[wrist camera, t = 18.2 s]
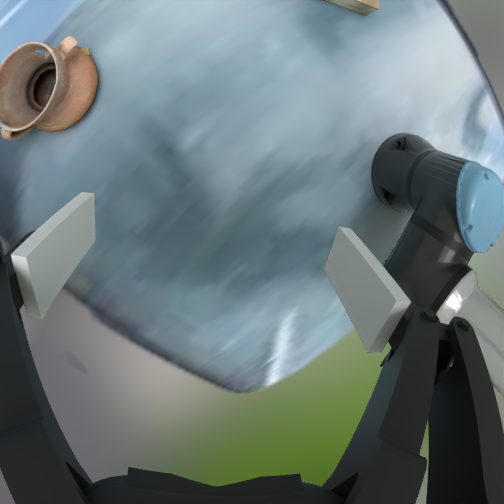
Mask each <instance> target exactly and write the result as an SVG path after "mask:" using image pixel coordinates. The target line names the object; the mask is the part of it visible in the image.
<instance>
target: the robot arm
mask: <svg viewBox="0 0 504 504" xmlns="http://www.w3.org/2000/svg"><path fill="white" fill-rule="evenodd" d="M372 180H373V185H374V189H375V191H376V193H377V195H378V197H379V198H380V200H381V201H382V202H383V203H385V204H386V205H387V206H389V207H391V208H392V209H394V210H396V211H399V212H407V213H413V215H412V217H411V218H410V220H409V222H408V224H407V226H406V227H405V229H404V231H403V233H402V234H401V236H400V238H399V240H398V242H397V243H396V245H395V247H394V248H393V250H392V252H391V253H390V255H389V257H388V259H387V260H385V262H384V263H383V266H382V264H381V263H380V262H379V261H378V260H377V258H376V257H375V256H374V255H373V254H372V253H371V251H370V250H369V249H368V248H367V247H366V246H365V244H364V243H363V242H362V241H361V240H360V239H359V237H358V236H357V235H356V234H355V233H354V232H353V231H352V230H351V228H345V227H340V226H339V227H338V230H337V233H336V236H335V239H334V242H333V245H332V248H331V251H330V253H329V256H328V259H327V262H326V265H325V268H324V270H325V272H326V274H327V275H328V277H329V279H330V281H331V283H332V285H333V287H334V288H335V290H336V292H337V294H338V296H339V298H340V300H341V302H342V303H343V305H344V307H345V309H346V311H347V313H348V315H349V317H350V319H351V321H352V323H353V325H354V327H355V329H356V331H357V333H358V335H359V337H360V339H361V341H362V343H363V345H364V346H365V349H366V351H367V352H368V353H370V352H382V351H383V349H384V347H385V346H386V344H387V343H388V342H389V344H390V345H391V347H392V348H391V350H390V351H389V353H388V354H387V356H386V357H385V359H384V360H383V362H382V363H381V365H380V366H381V367H382V366H383V368H382V371H381V373H380V376H379V378H378V381H377V384H376V386H375V388H374V391H373V393H372V396H371V398H370V400H369V403H368V405H367V407H366V410H365V412H364V414H363V416H362V418H361V420H360V422H359V425H358V427H357V429H356V431H355V433H354V435H353V437H352V439H351V441H350V443H349V445H348V447H347V449H346V451H345V452H344V454H343V456H342V458H341V460H340V462H339V463H338V465H337V467H336V469H335V470H334V472H333V474H332V475H331V476H330V478H329V479H328V480H327V481H326V482H325V483H324V484H323V486H322V487H320V486H317V485H314V484H310V483H305V482H302V481H301V476H300V474H292V475H282V476H281V475H280V476H267V477H257V478H254V479H250V480H246V481H242V482H238V483H233V484H229V485H224V486H211V485H207V484H203V483H200V482H196V481H193V480H189V479H186V478H183V477H179V476H177V475H173V474H169V473H162V472H155V471H148V470H142V469H136V468H130V467H129V468H128V475H122V476H115V477H110V478H106V479H102V480H100V481H97V482H95V483H92V481H91V480H90V478H89V477H88V475H87V474H86V472H85V471H84V469H83V468H82V467H81V465H80V464H79V462H78V461H77V459H76V457H75V455H74V454H73V452H72V450H71V448H70V446H69V444H68V443H67V440H66V438H65V436H64V434H63V432H62V430H61V428H60V426H59V424H58V422H57V420H56V418H55V415H54V413H53V411H52V409H51V406H50V404H49V401H48V399H47V396H46V394H45V391H44V389H43V386H42V383H41V381H40V378H39V375H38V372H37V369H36V367H35V363H34V360H33V357H32V354H31V351H30V347H29V344H28V340H27V337H26V333H25V329H24V325H23V321H22V317H21V314H20V311H19V310H20V308H21V307H22V305H23V304H24V306H25V310H26V313H27V315H28V316H31V317H35V318H39V319H42V318H43V317H44V315H45V314H46V312H47V310H48V309H49V307H50V305H51V304H52V302H53V301H54V299H55V298H56V296H57V295H58V293H59V291H60V290H61V288H62V287H63V285H64V284H65V282H66V281H67V280H68V278H69V277H70V275H71V274H72V272H73V271H74V269H75V268H76V267H77V265H78V264H79V262H80V261H81V260H82V258H83V257H84V255H85V254H86V253H87V251H88V250H89V249H90V247H91V246H92V245H93V243H94V242H95V241H96V238H95V213H94V193H86V192H81V193H80V194H79V195H78V196H76V197H75V198H74V199H72V200H71V201H70V202H69V203H68V204H66V205H65V206H64V207H63V208H61V209H60V210H59V211H58V212H57V213H55V214H54V215H53V216H52V217H51V218H50V219H48V220H47V221H46V222H45V223H44V224H43V225H42V226H40V227H39V228H38V229H37V230H34V231H32V232H30V233H29V234H27V235H26V236H24V237H23V238H22V239H21V240H20V241H19V242H18V243H17V244H16V246H14V247H13V248H12V249H11V250H10V251H9V252H8V253H7V254H6V255H5V256H4V253H3V248H2V243H1V241H0V468H1V471H2V473H3V476H4V478H5V481H6V483H7V486H8V488H9V490H10V493H11V495H12V497H13V499H14V501H15V503H16V504H415V503H416V500H417V497H418V494H419V491H420V488H421V484H422V481H423V478H424V475H425V471H426V467H427V460H426V458H425V457H422V456H420V455H419V454H420V449H421V445H422V441H423V437H424V433H425V429H426V425H427V420H428V426H429V464H428V465H429V466H428V486H427V500H426V504H504V433H503V428H502V423H501V418H500V413H499V409H498V405H497V401H496V397H495V393H494V389H493V386H494V387H495V389H497V391H498V392H499V393H500V394H501V395H502V396H503V397H504V309H503V308H502V307H500V306H499V305H498V304H497V303H496V302H495V301H494V300H493V299H491V298H490V297H489V296H488V295H487V294H486V293H485V292H483V291H482V290H481V289H480V288H479V287H478V282H477V274H476V272H475V271H474V270H473V269H472V268H470V267H469V266H468V262H469V261H470V259H471V257H472V255H473V254H474V253H484V252H486V251H488V250H489V249H490V246H493V245H494V244H495V243H496V241H497V240H498V238H499V236H500V234H501V231H502V228H503V225H504V187H503V184H502V182H501V180H500V178H499V177H498V176H497V174H496V173H494V172H493V171H492V170H490V169H488V168H486V167H484V166H481V165H480V164H479V163H477V162H475V161H469V160H466V159H463V158H460V157H457V156H454V155H450V154H447V153H444V152H440V151H438V150H437V149H435V148H434V147H433V146H432V145H431V144H430V143H428V142H427V141H426V140H425V139H423V138H421V137H419V136H417V135H413V134H408V133H400V134H396V135H394V136H392V137H390V138H389V139H387V140H386V141H385V142H384V143H383V144H382V145H381V147H380V148H379V150H378V152H377V154H376V156H375V159H374V162H373V167H372ZM452 363H453V364H452ZM451 364H452V366H451V367H450V365H451ZM492 385H493V386H492Z"/></svg>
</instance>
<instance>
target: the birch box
mask: <svg viewBox="0 0 504 504" xmlns="http://www.w3.org/2000/svg"><path fill="white" fill-rule="evenodd" d="M324 1H328V2H331V3H334V4H337V5H340V6H343V7H346V8H348V9H351V10H354V11H356V12H359V13H362V14H364V15H368V14H370V13H372V12H374V11H376V10H378V9H379V0H324Z"/></svg>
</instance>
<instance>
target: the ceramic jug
mask: <svg viewBox="0 0 504 504" xmlns="http://www.w3.org/2000/svg"><path fill="white" fill-rule="evenodd" d="M77 45H78V43H77V42H76V40H75V39H74V38H73V37H72V36H68V37H66V38H65V39H64V40H63V41H62V43H61V44H60V46H59V47H57V48H54V49H53V48H52V47H51V46H49V45H47V44H45V43H42V42H37V41H34V42H28V43H25V44H23V45H21V46H19V47H18V48H16V49H14V50H13V51H12V52H11V53H10V54H9V55H8V56H7V57H6V58H5V59H4V61H3V62H2V64H1V65H0V127H1V133H2V136H3V138H4V139H6V140H15V139H18V138H20V137H21V136H23V135H24V134H26V133H27V132H29V131H30V130H31V129H33V128H38V129H40V130H43V131H47V132H56V131H61V130H64V129H66V128H68V127H70V126H71V125H73V124H74V123H76V122H77V121H78V120H79V119H80V118H81V117H82V116H83V115H84V114H85V113H86V112H87V110H88V109H89V107H90V106H91V104H92V102H93V100H94V97H95V93H96V90H97V86H98V71H97V67H96V64H95V62H94V60H93V58H92V56H91V53H90V50H89V48H80V47H78V46H77ZM36 50H46V51H49V52H47V53H46V54H44V55H42V54H39V53H37V52H35V51H36Z"/></svg>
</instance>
